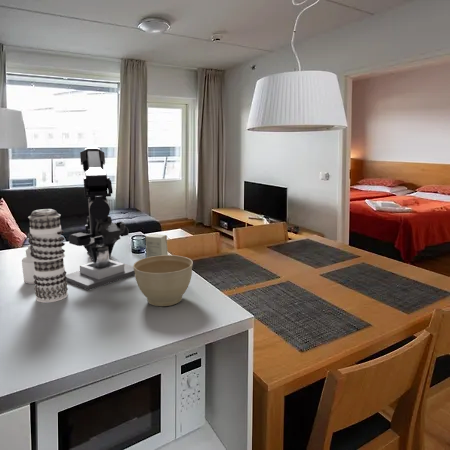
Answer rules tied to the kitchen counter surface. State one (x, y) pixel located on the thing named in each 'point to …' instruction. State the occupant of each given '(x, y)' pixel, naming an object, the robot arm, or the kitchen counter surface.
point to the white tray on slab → (99, 275)
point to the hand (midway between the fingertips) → (101, 260)
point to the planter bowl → (163, 278)
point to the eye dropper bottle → (28, 267)
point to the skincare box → (156, 245)
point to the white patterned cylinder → (47, 255)
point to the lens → (102, 256)
